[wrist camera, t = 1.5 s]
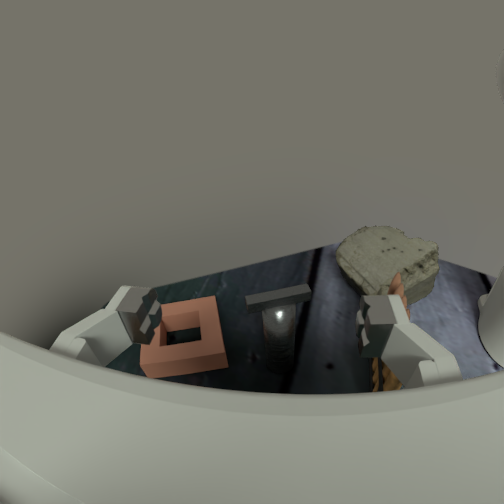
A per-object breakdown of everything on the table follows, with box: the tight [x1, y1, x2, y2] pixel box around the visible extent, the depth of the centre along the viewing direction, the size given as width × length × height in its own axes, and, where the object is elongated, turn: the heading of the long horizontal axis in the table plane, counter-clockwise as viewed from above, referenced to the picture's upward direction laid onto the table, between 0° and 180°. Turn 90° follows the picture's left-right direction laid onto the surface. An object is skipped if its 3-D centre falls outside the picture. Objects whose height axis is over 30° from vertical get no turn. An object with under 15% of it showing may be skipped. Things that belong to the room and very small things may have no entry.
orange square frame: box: [140, 296, 228, 378], centre depth 35 cm, size 10×10×3 cm
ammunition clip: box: [369, 272, 410, 392], centre depth 25 cm, size 11×2×12 cm, turn 167°
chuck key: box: [245, 284, 311, 374], centre depth 29 cm, size 6×3×11 cm, turn 102°
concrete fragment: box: [336, 226, 439, 305], centre depth 39 cm, size 15×10×15 cm
